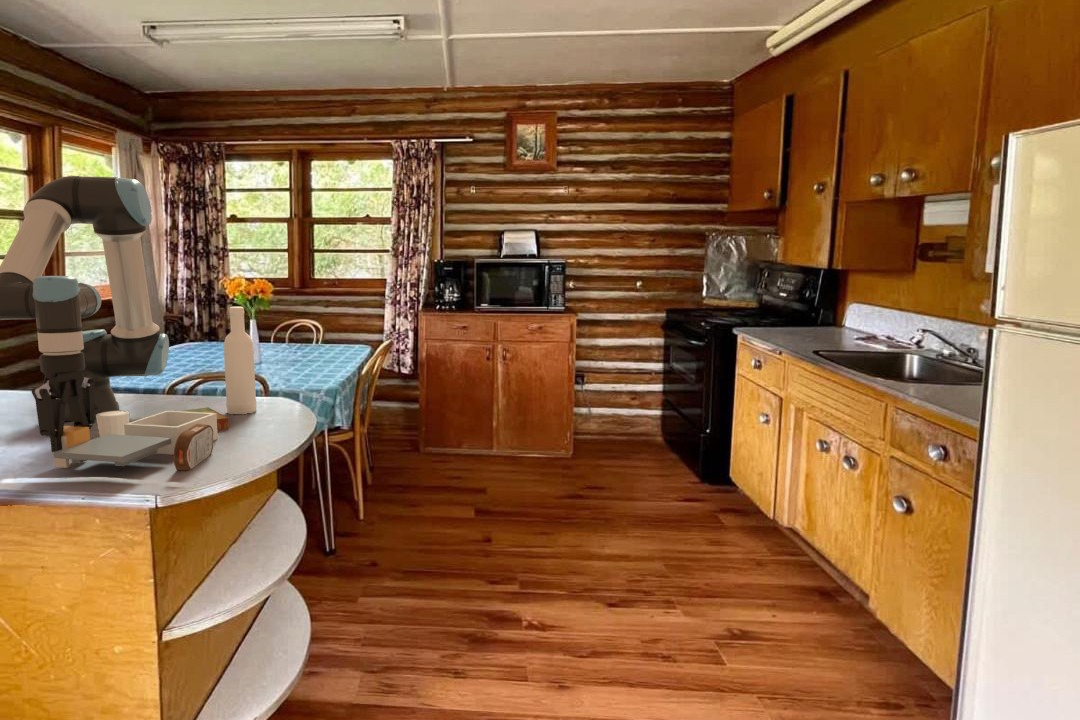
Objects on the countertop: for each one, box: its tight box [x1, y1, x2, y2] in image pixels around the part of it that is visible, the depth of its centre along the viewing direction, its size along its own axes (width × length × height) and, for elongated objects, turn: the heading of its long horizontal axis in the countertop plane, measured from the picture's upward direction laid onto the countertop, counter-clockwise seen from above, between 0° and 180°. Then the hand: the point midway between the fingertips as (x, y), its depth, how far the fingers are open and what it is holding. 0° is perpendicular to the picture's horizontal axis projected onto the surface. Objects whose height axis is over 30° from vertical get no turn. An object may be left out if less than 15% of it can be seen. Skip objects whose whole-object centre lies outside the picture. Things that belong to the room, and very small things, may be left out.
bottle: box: [223, 306, 257, 415], centre depth 194 cm, size 8×8×30 cm
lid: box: [53, 425, 171, 467], centre depth 141 cm, size 14×20×6 cm
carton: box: [182, 407, 230, 432], centre depth 177 cm, size 8×16×4 cm, turn 42°
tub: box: [124, 410, 219, 456], centre depth 159 cm, size 13×14×7 cm
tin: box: [173, 424, 214, 471], centre depth 146 cm, size 15×3×8 cm, turn 5°
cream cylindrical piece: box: [95, 410, 130, 437], centre depth 163 cm, size 7×7×7 cm
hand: (71, 463), depth 143 cm, fingers closed on lid, 4 cm apart
